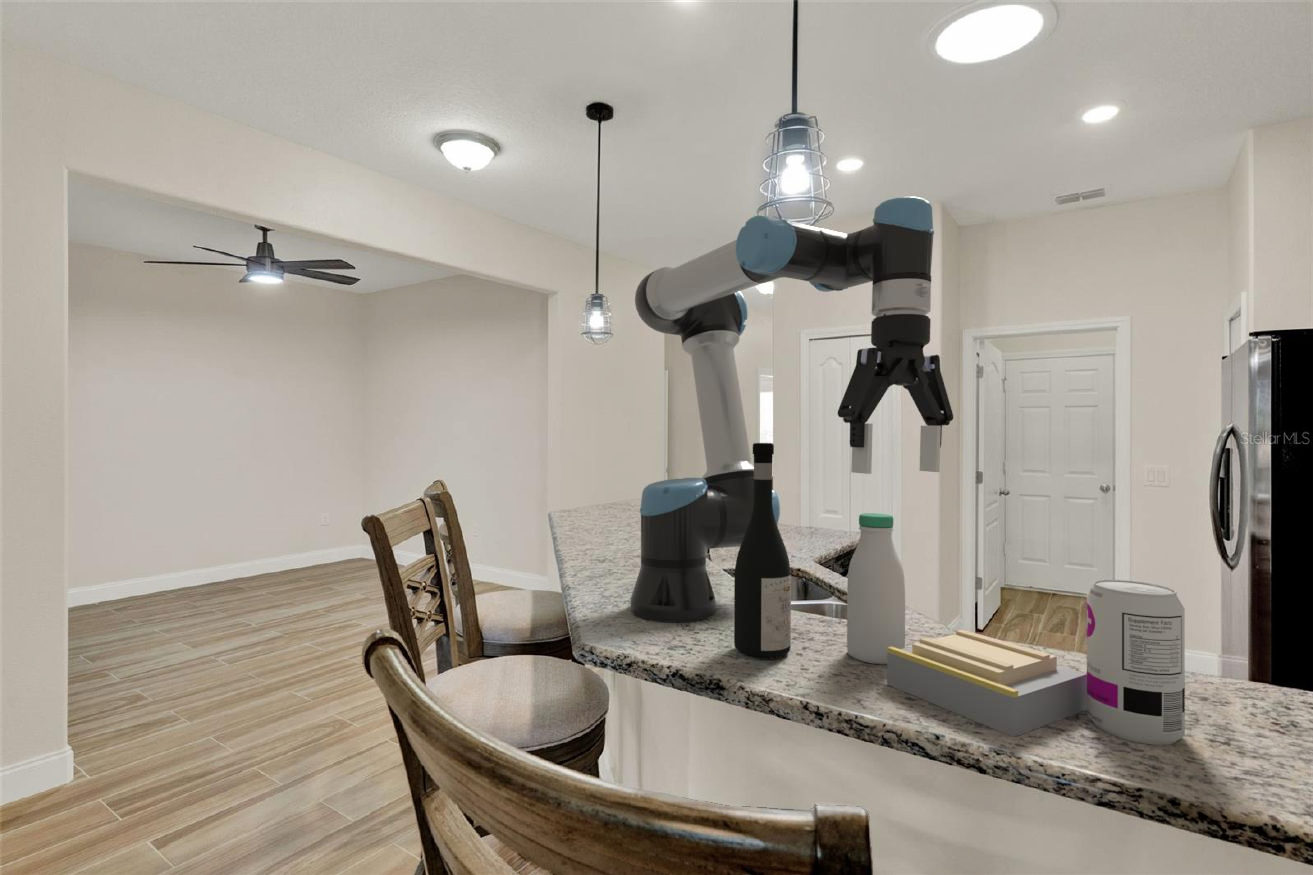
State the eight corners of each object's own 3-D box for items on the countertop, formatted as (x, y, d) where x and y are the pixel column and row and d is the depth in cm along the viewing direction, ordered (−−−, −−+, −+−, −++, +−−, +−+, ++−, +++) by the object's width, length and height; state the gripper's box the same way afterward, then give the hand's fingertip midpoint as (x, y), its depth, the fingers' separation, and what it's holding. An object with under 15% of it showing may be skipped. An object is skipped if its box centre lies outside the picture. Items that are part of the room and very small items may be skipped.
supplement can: (1074, 725, 67) (1074, 584, 67) (1102, 706, 72) (1102, 575, 72) (1170, 756, 60) (1170, 600, 61) (1194, 733, 65) (1193, 588, 66)
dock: (887, 684, 78) (887, 636, 78) (958, 665, 85) (958, 622, 85) (1013, 737, 64) (1013, 679, 64) (1087, 709, 71) (1087, 657, 71)
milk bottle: (909, 668, 84) (910, 518, 84) (849, 663, 86) (850, 516, 86) (899, 649, 92) (900, 512, 92) (844, 645, 93) (845, 510, 93)
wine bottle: (800, 651, 90) (801, 443, 91) (772, 666, 84) (774, 442, 85) (752, 639, 96) (753, 442, 96) (723, 652, 90) (724, 442, 90)
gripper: (856, 301, 76) (851, 475, 77) (983, 322, 88) (978, 472, 89) (812, 310, 83) (808, 471, 83) (936, 328, 95) (932, 469, 95)
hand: (896, 472), depth 86 cm, fingers open, 13 cm apart
